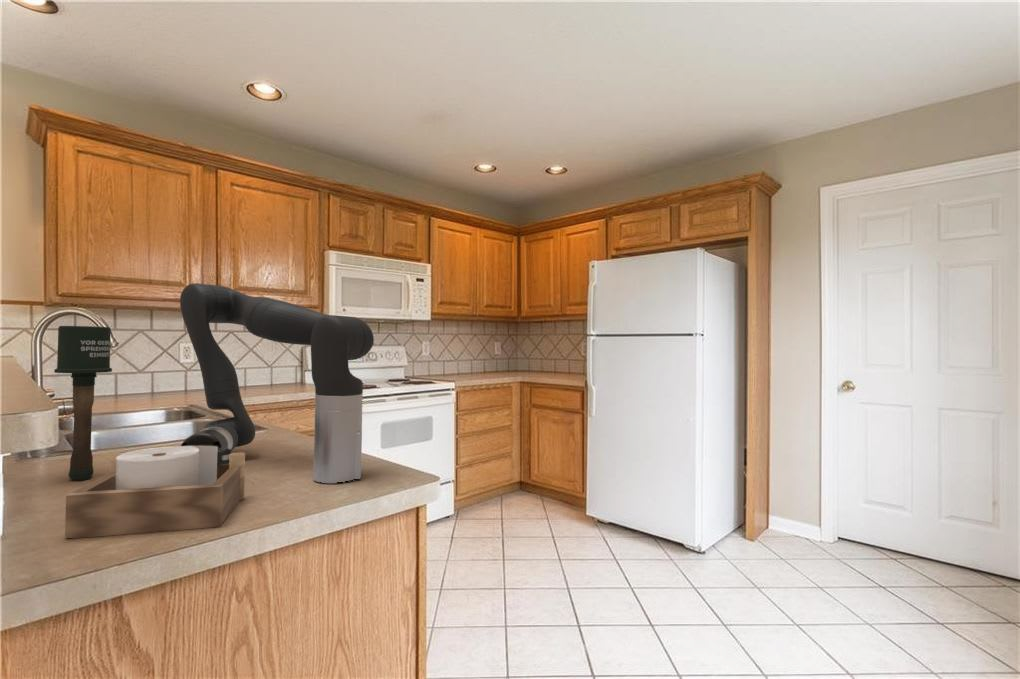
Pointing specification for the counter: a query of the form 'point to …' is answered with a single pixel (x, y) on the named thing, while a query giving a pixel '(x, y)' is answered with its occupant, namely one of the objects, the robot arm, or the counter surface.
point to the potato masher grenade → (83, 385)
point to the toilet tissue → (167, 467)
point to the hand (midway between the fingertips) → (176, 469)
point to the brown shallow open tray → (152, 505)
